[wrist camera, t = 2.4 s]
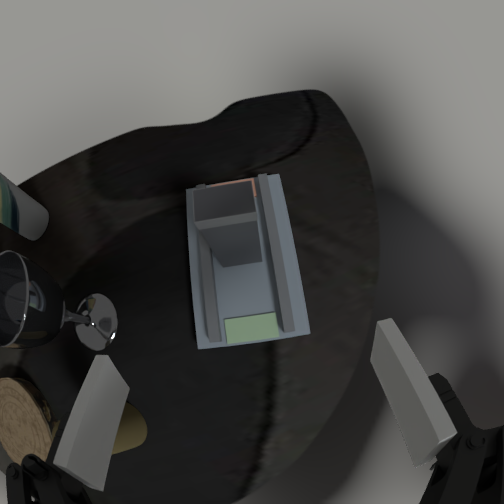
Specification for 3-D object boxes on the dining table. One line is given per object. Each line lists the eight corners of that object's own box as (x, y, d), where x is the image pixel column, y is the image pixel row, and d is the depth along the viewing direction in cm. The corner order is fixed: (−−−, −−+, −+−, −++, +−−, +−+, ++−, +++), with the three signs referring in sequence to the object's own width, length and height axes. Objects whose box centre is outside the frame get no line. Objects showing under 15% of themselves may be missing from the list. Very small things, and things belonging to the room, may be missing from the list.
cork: (122, 391, 26) (61, 403, 16) (157, 431, 25) (106, 463, 14) (95, 416, 25) (34, 432, 15) (126, 455, 24) (73, 486, 13)
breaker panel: (308, 334, 27) (312, 333, 25) (201, 348, 28) (194, 349, 25) (278, 180, 33) (279, 168, 31) (189, 195, 34) (183, 184, 31)
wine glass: (102, 367, 27) (6, 367, 13) (62, 329, 29) (-27, 308, 15) (132, 312, 29) (40, 281, 15) (89, 278, 31) (3, 234, 17)
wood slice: (41, 367, 28) (26, 367, 25) (83, 473, 23) (71, 479, 20) (-6, 386, 27) (-19, 385, 24) (26, 472, 22) (15, 476, 19)
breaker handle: (263, 261, 28) (256, 212, 18) (222, 268, 28) (194, 222, 18) (259, 238, 29) (251, 179, 19) (220, 245, 29) (192, 190, 19)
